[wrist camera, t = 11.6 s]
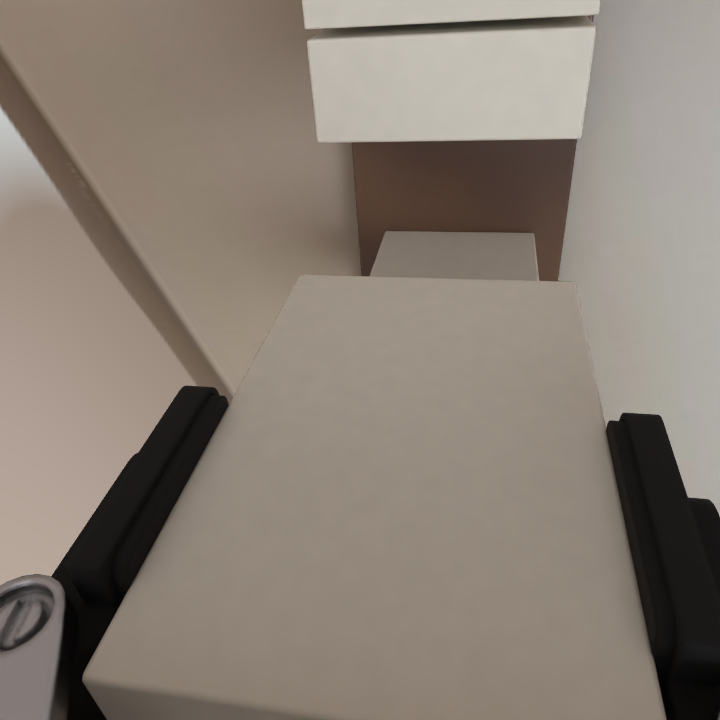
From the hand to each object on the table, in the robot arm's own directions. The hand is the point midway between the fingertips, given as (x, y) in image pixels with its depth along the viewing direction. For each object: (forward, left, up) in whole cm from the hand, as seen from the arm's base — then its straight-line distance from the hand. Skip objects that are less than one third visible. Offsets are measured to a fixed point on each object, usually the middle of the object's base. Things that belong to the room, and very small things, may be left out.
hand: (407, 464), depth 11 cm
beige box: (0, 0, -5) cm, 5 cm away
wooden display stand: (-1, 0, -19) cm, 19 cm away
